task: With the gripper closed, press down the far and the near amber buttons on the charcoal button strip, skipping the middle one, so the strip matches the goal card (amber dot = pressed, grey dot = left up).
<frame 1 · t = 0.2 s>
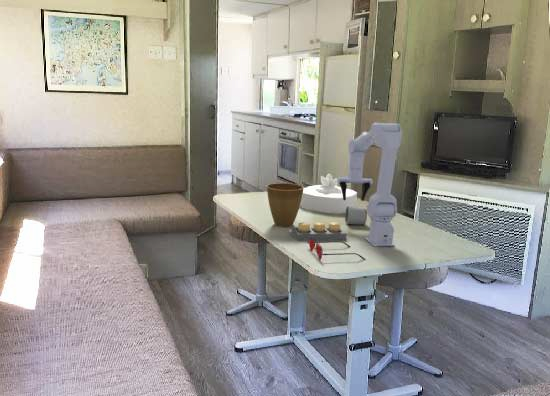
hand: (353, 200, 212), 10 cm above the table, tool pointing down, fingers open, 7 cm apart
button 3: (303, 227, 191), point 3 cm above the table, slide at 0.0 cm
button 2: (319, 227, 192), point 3 cm above the table, slide at 0.0 cm
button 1: (334, 227, 193), point 4 cm above the table, slide at 0.0 cm
plant pot: (283, 225, 207), on the table
board: (318, 236, 193), on the table
glasses: (335, 255, 174), on the table
tissue box: (327, 206, 244), on the table
ceramic mug: (353, 223, 215), on the table
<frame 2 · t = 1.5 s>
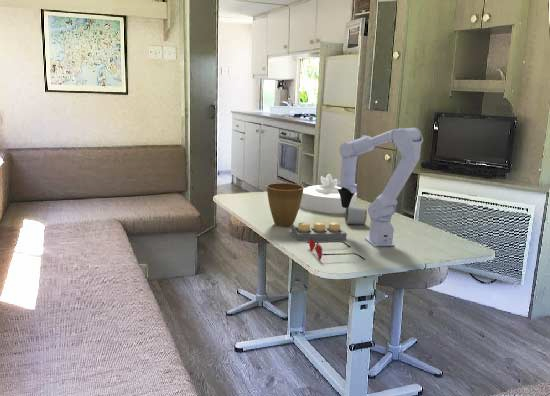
hand: (345, 207, 199), 10 cm above the table, tool pointing down, fingers closed
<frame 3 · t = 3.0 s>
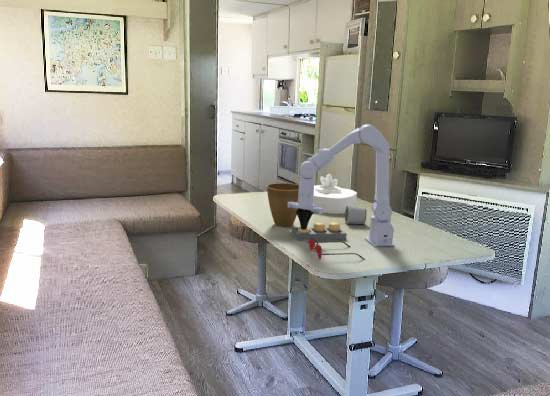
hand: (303, 228, 191), 3 cm above the table, tool pointing down, fingers closed, pressing on button 3
button 3: (303, 232, 191), point 2 cm above the table, slide at 1.8 cm, touching gripper
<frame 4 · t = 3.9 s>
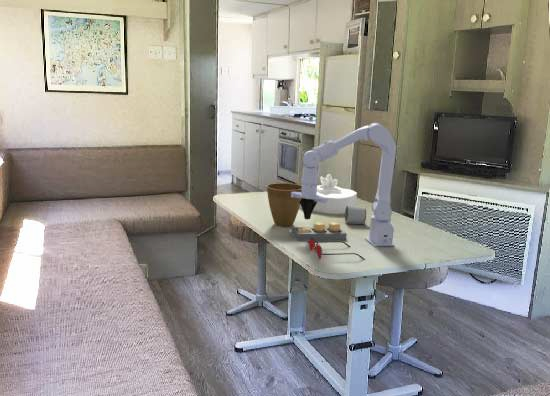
hand: (307, 218, 190), 7 cm above the table, tool pointing down, fingers closed
button 3: (303, 232, 191), point 2 cm above the table, slide at 1.8 cm
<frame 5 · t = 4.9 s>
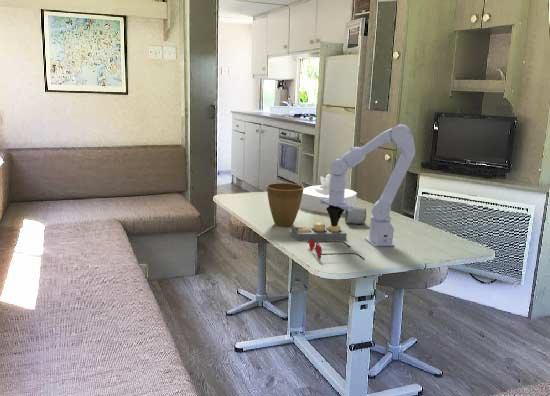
hand: (334, 225, 193), 4 cm above the table, tool pointing down, fingers closed, pressing on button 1
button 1: (334, 229, 193), point 3 cm above the table, slide at 0.7 cm, touching gripper
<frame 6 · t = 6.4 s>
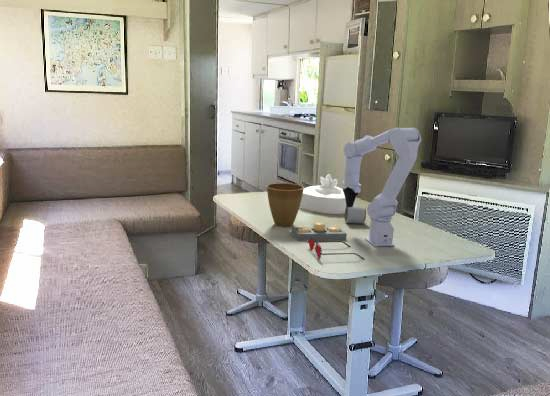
hand: (349, 206, 201), 10 cm above the table, tool pointing down, fingers closed
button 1: (333, 232, 194), point 2 cm above the table, slide at 1.8 cm
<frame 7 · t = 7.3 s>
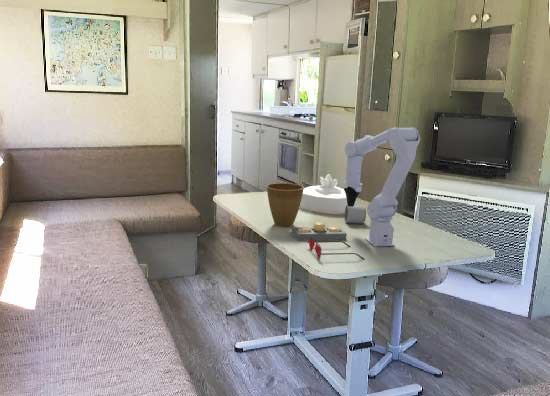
hand: (350, 206, 201), 10 cm above the table, tool pointing down, fingers closed
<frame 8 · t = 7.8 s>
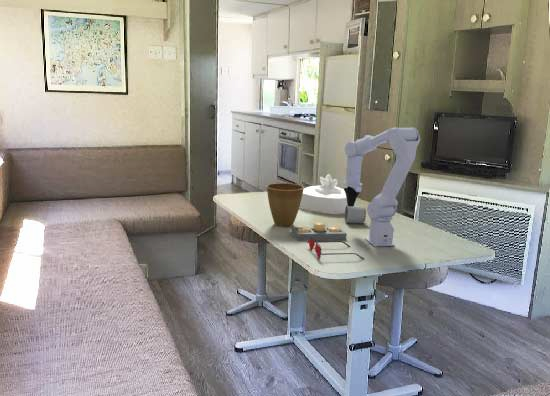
hand: (350, 206, 201), 10 cm above the table, tool pointing down, fingers closed
at the end: button 3 slide at 1.8 cm; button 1 slide at 1.8 cm; button 2 slide at 0.0 cm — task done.
